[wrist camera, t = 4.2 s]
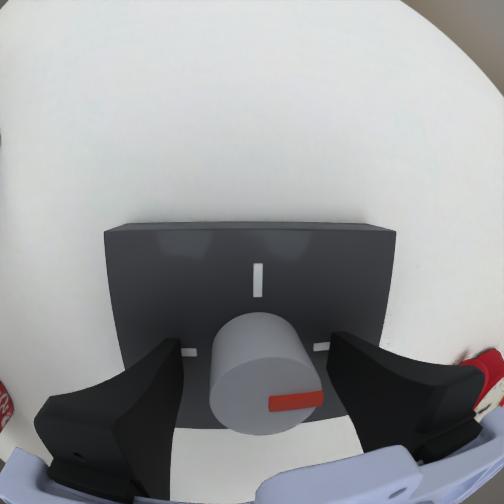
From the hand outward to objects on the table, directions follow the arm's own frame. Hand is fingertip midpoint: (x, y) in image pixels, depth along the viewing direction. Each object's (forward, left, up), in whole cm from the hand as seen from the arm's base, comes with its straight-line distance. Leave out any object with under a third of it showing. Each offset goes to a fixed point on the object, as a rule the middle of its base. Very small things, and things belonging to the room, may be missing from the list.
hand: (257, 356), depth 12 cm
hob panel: (0, 0, -3) cm, 3 cm away
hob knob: (0, 0, 0) cm, 0 cm away
